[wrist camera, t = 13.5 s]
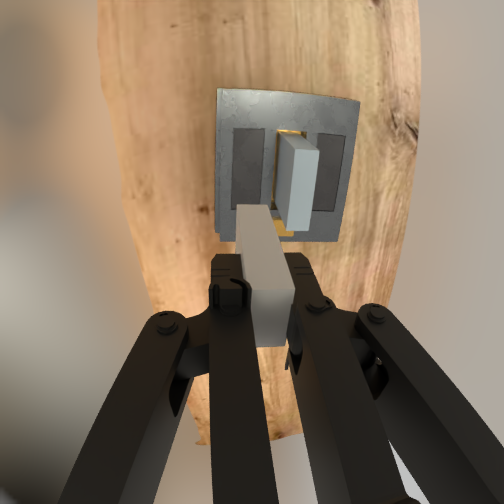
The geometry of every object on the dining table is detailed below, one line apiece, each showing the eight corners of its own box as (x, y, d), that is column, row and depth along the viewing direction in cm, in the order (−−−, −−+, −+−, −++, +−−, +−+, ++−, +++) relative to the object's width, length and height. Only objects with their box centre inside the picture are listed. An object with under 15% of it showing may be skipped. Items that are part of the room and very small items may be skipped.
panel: (277, 131, 38) (295, 148, 29) (296, 132, 38) (319, 150, 29) (272, 196, 42) (286, 230, 34) (290, 196, 43) (308, 230, 34)
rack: (217, 88, 35) (217, 89, 31) (354, 100, 37) (366, 103, 33) (215, 230, 45) (214, 243, 42) (334, 230, 47) (342, 243, 44)
